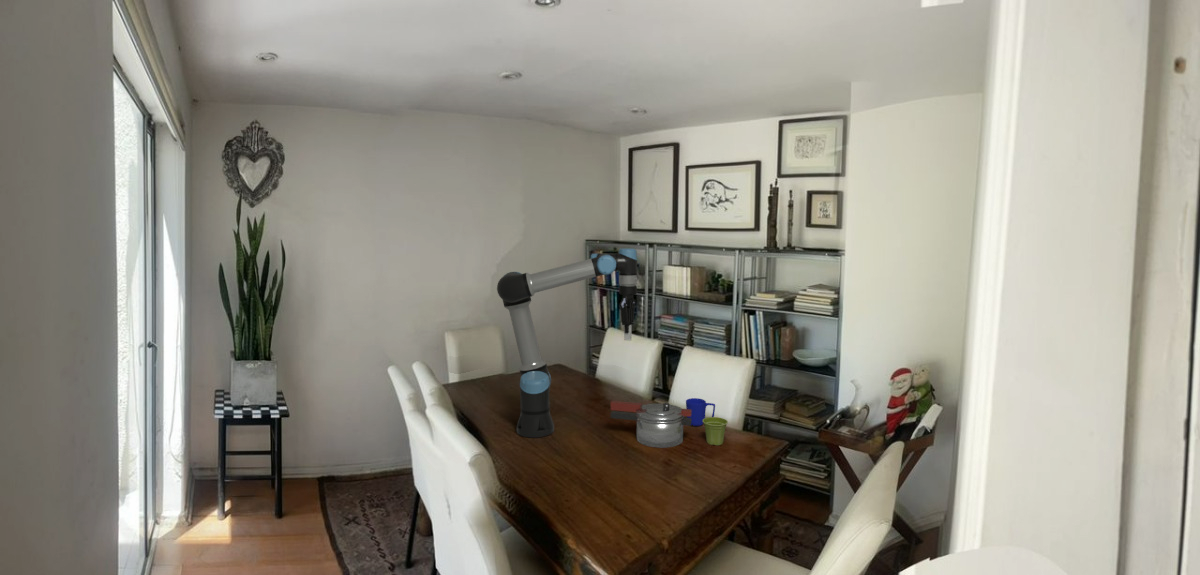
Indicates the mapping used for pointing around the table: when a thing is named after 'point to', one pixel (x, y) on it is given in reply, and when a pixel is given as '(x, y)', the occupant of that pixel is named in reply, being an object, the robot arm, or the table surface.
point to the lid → (652, 410)
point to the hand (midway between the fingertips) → (627, 340)
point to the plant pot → (715, 430)
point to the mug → (698, 410)
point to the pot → (656, 430)
